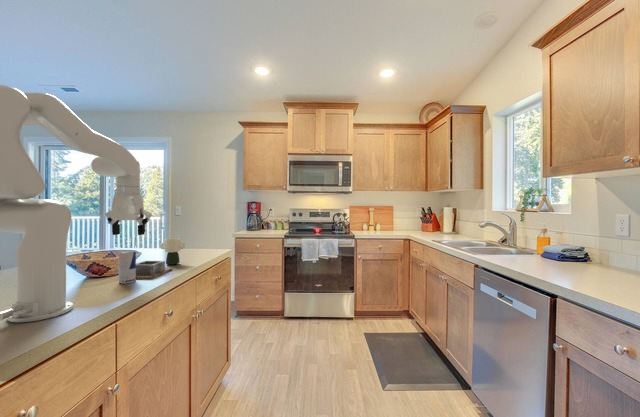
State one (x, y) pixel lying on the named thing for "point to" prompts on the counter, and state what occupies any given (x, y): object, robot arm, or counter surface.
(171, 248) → the character mug
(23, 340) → the counter surface
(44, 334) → the counter surface
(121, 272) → the energy drink
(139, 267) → the can holder
